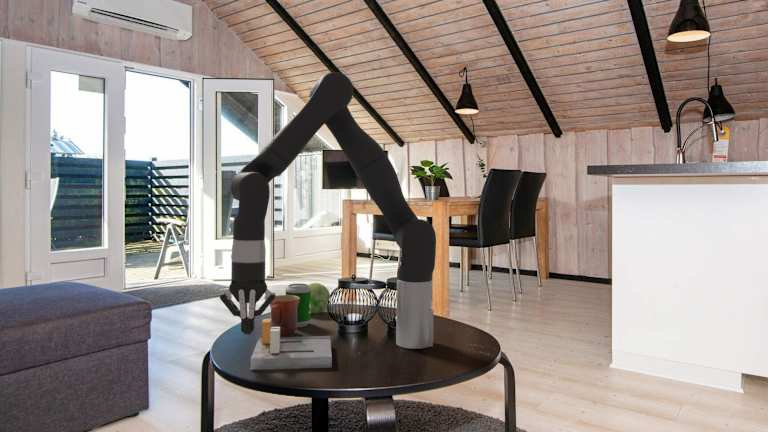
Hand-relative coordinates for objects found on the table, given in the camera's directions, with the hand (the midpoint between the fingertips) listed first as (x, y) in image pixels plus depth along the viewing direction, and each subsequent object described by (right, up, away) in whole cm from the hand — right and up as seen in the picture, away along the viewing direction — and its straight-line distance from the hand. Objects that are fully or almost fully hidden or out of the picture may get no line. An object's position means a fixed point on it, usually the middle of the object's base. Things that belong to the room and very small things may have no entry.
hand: (247, 333), depth 120 cm
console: (+10, -7, +5) cm, 13 cm away
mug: (+3, -6, +24) cm, 25 cm away
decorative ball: (+9, -5, +52) cm, 53 cm away
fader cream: (+6, -4, +1) cm, 8 cm away
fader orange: (+3, -4, +8) cm, 10 cm away
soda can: (+6, -6, +36) cm, 37 cm away
